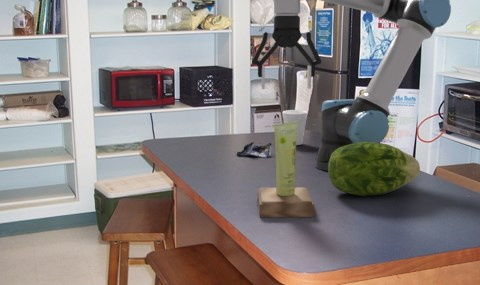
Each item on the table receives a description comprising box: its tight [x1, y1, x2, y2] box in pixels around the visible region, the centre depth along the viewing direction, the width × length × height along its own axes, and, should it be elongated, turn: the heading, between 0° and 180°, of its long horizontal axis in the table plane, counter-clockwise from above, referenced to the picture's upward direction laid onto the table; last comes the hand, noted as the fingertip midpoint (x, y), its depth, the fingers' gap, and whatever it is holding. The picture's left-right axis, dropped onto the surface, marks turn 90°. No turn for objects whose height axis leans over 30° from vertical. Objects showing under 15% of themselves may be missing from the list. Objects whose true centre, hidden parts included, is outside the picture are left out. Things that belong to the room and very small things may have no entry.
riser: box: [256, 186, 315, 218], centre depth 168 cm, size 14×14×4 cm
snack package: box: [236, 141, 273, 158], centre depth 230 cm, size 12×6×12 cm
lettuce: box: [327, 142, 421, 197], centre depth 180 cm, size 15×27×16 cm, turn 97°
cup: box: [282, 109, 309, 146], centre depth 247 cm, size 10×10×13 cm
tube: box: [273, 122, 298, 196], centre depth 166 cm, size 6×5×20 cm
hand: (286, 88), depth 185 cm, fingers open, 13 cm apart
